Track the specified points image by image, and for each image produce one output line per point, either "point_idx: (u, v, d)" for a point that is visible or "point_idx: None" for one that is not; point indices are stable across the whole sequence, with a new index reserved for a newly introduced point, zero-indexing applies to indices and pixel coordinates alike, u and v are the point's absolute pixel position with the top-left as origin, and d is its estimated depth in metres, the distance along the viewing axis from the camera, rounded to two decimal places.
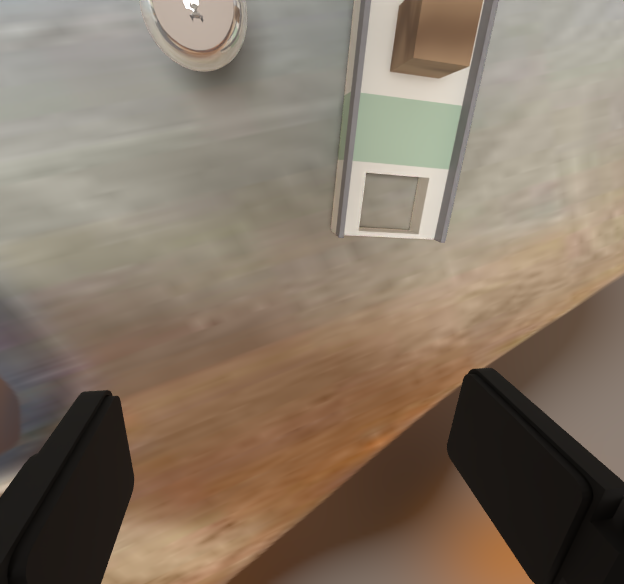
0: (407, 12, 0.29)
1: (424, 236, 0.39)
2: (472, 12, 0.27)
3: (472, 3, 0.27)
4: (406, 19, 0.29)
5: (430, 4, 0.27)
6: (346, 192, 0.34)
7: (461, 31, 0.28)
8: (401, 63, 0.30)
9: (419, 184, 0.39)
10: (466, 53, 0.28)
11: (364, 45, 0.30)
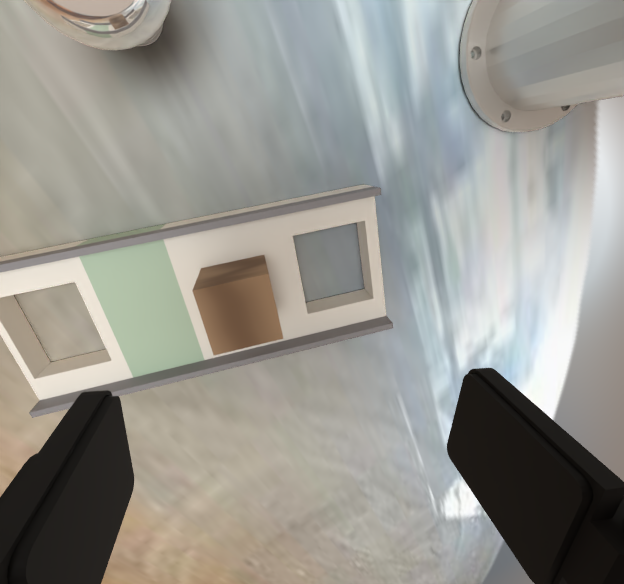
0: (250, 266, 0.25)
1: (36, 387, 0.28)
2: (261, 335, 0.24)
3: (268, 331, 0.24)
4: (243, 267, 0.25)
5: (249, 288, 0.23)
6: (19, 264, 0.23)
7: (240, 331, 0.24)
8: (198, 278, 0.24)
9: None
10: (223, 346, 0.24)
11: (203, 229, 0.24)
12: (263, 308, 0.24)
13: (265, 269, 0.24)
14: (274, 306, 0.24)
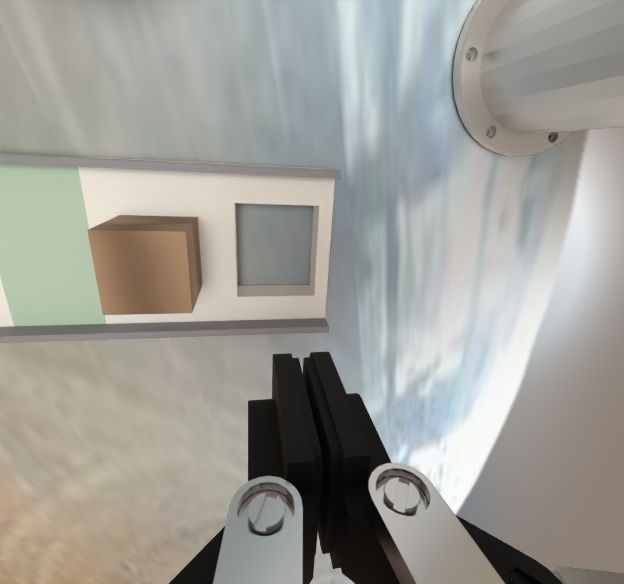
0: (173, 222, 0.22)
1: None
2: (166, 303, 0.21)
3: (175, 300, 0.21)
4: (164, 222, 0.21)
5: (159, 244, 0.19)
6: None
7: (140, 293, 0.20)
8: (106, 222, 0.21)
9: None
10: (117, 307, 0.20)
11: (126, 166, 0.21)
12: (173, 271, 0.20)
13: (186, 227, 0.20)
14: (187, 272, 0.20)
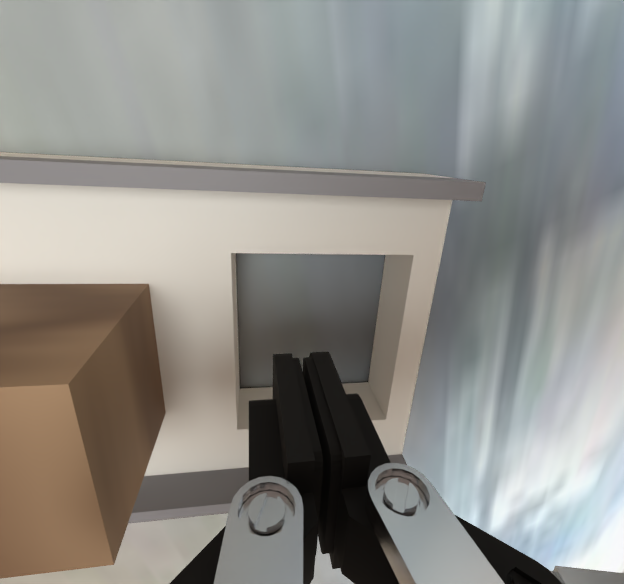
0: (69, 318, 0.08)
1: None
2: (36, 553, 0.07)
3: (63, 545, 0.07)
4: (47, 317, 0.08)
5: None
6: None
7: None
8: None
9: None
10: None
11: None
12: (46, 485, 0.07)
13: (87, 352, 0.07)
14: (87, 483, 0.07)
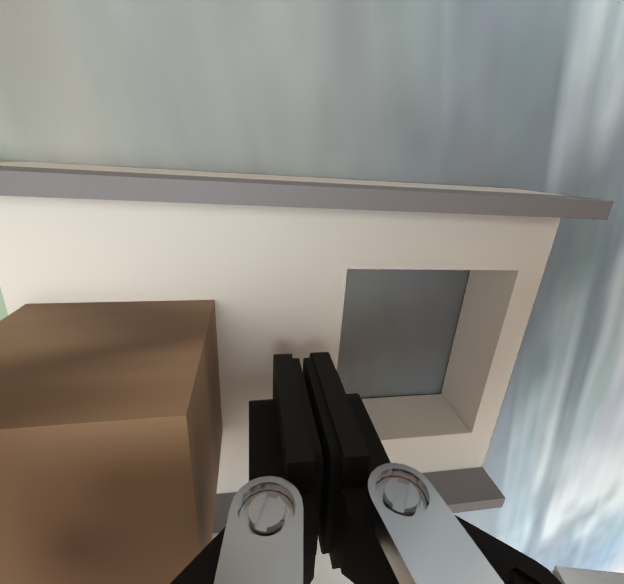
0: (152, 339, 0.08)
1: None
2: None
3: (158, 580, 0.07)
4: (130, 339, 0.08)
5: (100, 456, 0.06)
6: None
7: (49, 580, 0.07)
8: None
9: None
10: None
11: (94, 193, 0.07)
12: (150, 519, 0.06)
13: (188, 377, 0.07)
14: (191, 516, 0.07)
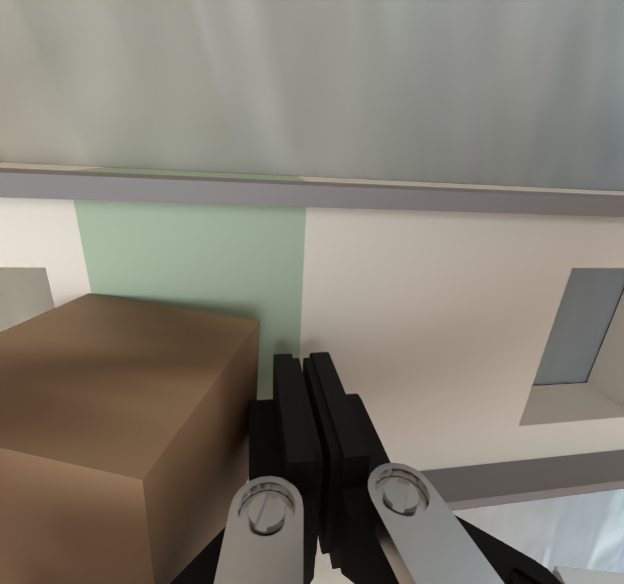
0: (169, 358, 0.07)
1: None
2: None
3: None
4: (149, 353, 0.07)
5: (54, 496, 0.05)
6: None
7: None
8: None
9: None
10: None
11: (441, 206, 0.09)
12: (105, 579, 0.05)
13: (176, 421, 0.05)
14: None
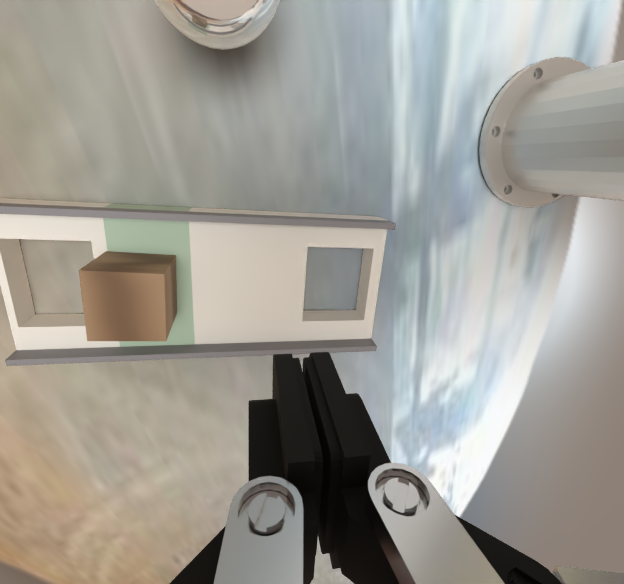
0: (153, 262, 0.25)
1: (17, 336, 0.27)
2: (143, 332, 0.24)
3: (152, 330, 0.24)
4: (146, 261, 0.25)
5: (141, 283, 0.23)
6: (45, 211, 0.23)
7: (121, 323, 0.23)
8: (94, 260, 0.24)
9: None
10: (100, 334, 0.23)
11: (232, 221, 0.26)
12: (151, 306, 0.23)
13: (164, 269, 0.24)
14: (163, 307, 0.24)
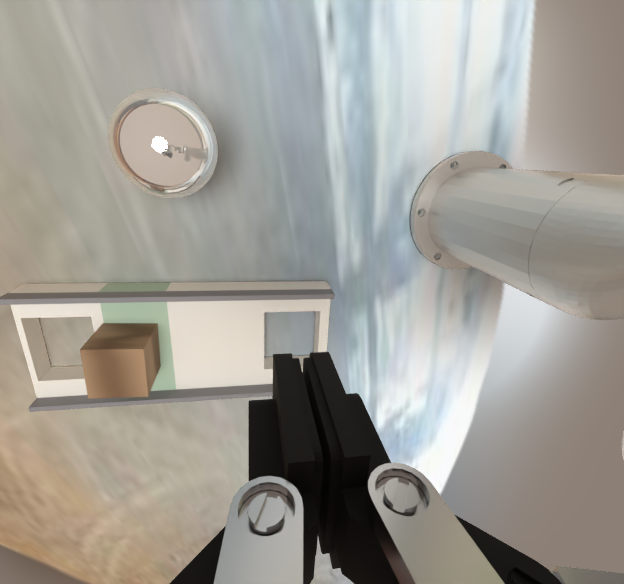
0: (138, 334, 0.32)
1: (37, 387, 0.35)
2: (130, 390, 0.31)
3: (137, 389, 0.31)
4: (132, 334, 0.32)
5: (126, 356, 0.30)
6: (55, 301, 0.31)
7: (113, 385, 0.31)
8: (93, 336, 0.31)
9: None
10: (97, 393, 0.31)
11: (198, 300, 0.33)
12: (135, 372, 0.31)
13: (145, 343, 0.31)
14: (144, 372, 0.31)
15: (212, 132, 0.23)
